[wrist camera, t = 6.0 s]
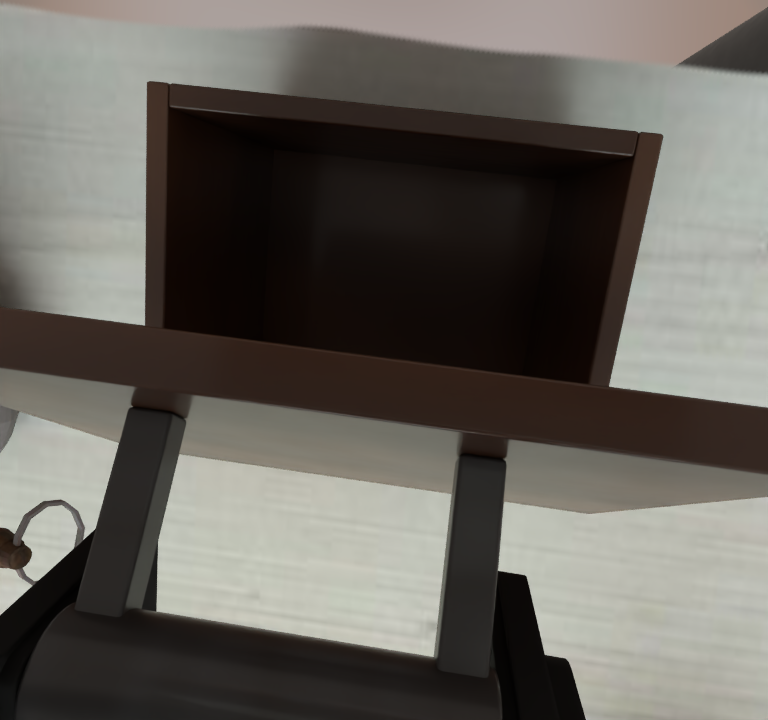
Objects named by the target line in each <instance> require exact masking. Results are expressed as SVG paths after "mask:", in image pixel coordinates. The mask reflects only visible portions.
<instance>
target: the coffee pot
mask: <svg viewBox="0 0 768 720" xmlns="http://www.w3.org/2000/svg"><path fill="white" fill-rule="evenodd" d="M18 413H19V411H17V410H14V409H10V408H7V407H4V406H1V405H0V453H1V451H2V450H3V449H4V447H5V446H6V444H7V442H8V440H9V439H10V437H11V435H12V432H13V429H14V426H15V423H16V419H17V416H18ZM57 505H63V506H64V507H65V508H67V509H68V510H69V511H71V513H72V515H73V517H74V520H75V522H76V524H77V527H78V529H77V535H76V541H75V547H76V546H78V545H79V544H80V543H81V542H82V541H83V536H84V530H85V527H84V524H83V522H82V520H81V517H80V515H79V513H78V511H77V510H76V509H75V508H73V507H72V506H71V505H69V504H68V503H67V502H65V501H63V500H53V501H43V502H42V503H40V504H39V505H38V506H36V507H35V508H33V509H32V510H31V511H29V512H28V513H27V514H25V515H24V517H23V519H22V521H21V523H20V525H19V527H18V529H17V531H16V533H15V534H14V533H12V532H11V531H10V530H8V529H6V528H0V568H10V569H14V570H16V571H17V573H18V575H19V577H20V578H22V579H23V580H25V581H27V582H28V583H30V584H31V585H34V584H35V583H36V582H38V581H35V582H34V581H33V580H32V579H30V578H29V577H27V576H26V574H25V572H24V570H23V567H24V566H26V565H27V563H28V562H29V561H30V559H31V556H32V552H31V549H30V548H28V547H27V546H26V545H25V544H24V541H22V536H23V534H24V532H25V530H26V528H27V526H28V524H29V522H30V520H31V518H33V517H34V516H36V515H37V514H38V513H40V512H41V511H42V510H44V509H45V508H46V507H48V506H57ZM75 547H74V548H75Z"/></svg>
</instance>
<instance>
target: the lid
mask: <svg viewBox="0 0 768 720" xmlns="http://www.w3.org/2000/svg"><path fill="white" fill-rule="evenodd" d="M0 405H1V406H4V407H7V408H10V409H14V410H17V411H20V412H23V413H26V414H29V415H32V416H36V417H39V418H42V419H45V420H48V421H51V422H55V423H58V424H61V425H64V426H67V427H70V428H73V429H77V430H80V431H83V432H86V433H89V434H92V435H95V436H99V437H102V438H105V439H108V440H111V441H114V442H118V443H119V445H118V449H117V453H116V456H115V460H114V464H113V467H112V471H111V475H110V478H109V482H108V486H107V489H106V493H105V497H104V500H103V504H102V508H101V511H100V515H99V519H98V522H97V526H96V530H95V533H94V537H93V541H92V544H91V548H90V552H89V555H88V559H87V563H86V566H85V570H84V574H83V577H82V581H81V585H80V588H79V592H78V596H77V599H76V602H74V603H72V604H70V605H68V606H67V607H66V608H64V609H63V610H62V611H61V612H60V613H59V614H58V615H57V616H56V617H55V618H54V619H53V620H52V621H51V623H50V624H49V625H48V627H47V628H46V629H45V631H44V632H43V634H42V635H41V637H40V639H39V641H38V642H37V644H36V646H35V648H34V650H33V652H32V654H31V656H30V658H29V660H28V662H27V665H26V667H25V670H24V673H23V675H22V678H21V681H20V685H19V688H18V692H17V697H16V702H15V710H14V720H503V706H502V695H501V687H500V682H499V679H498V675H497V672H496V670H495V669H493V668H492V667H490V658H491V646H492V634H493V623H494V611H495V599H496V587H497V575H498V564H499V552H500V540H501V528H502V517H503V505H504V502H510V503H517V504H524V505H531V506H538V507H544V508H551V509H558V510H565V511H572V512H579V513H586V514H593V513H603V512H614V511H624V510H635V509H645V508H656V507H666V506H677V505H687V504H698V503H708V502H719V501H729V500H740V499H750V498H761V497H768V408H766V407H759V406H751V405H743V404H736V403H728V402H721V401H713V400H705V399H698V398H690V397H683V396H675V395H668V394H660V393H652V392H645V391H637V390H630V389H622V388H614V387H607V386H599V385H592V384H584V383H576V382H569V381H561V380H554V379H546V378H538V377H531V376H523V375H516V374H508V373H500V372H493V371H485V370H478V369H470V368H462V367H455V366H447V365H440V364H432V363H424V362H417V361H409V360H402V359H394V358H386V357H379V356H371V355H364V354H356V353H348V352H341V351H333V350H326V349H318V348H310V347H303V346H295V345H288V344H280V343H272V342H265V341H257V340H250V339H242V338H234V337H227V336H219V335H212V334H204V333H196V332H189V331H181V330H174V329H166V328H158V327H151V326H143V325H136V324H128V323H120V322H113V321H105V320H98V319H90V318H82V317H75V316H67V315H60V314H52V313H44V312H37V311H29V310H22V309H14V308H7V307H0ZM179 454H181V455H188V456H195V457H202V458H209V459H215V460H222V461H229V462H236V463H243V464H250V465H257V466H263V467H270V468H277V469H284V470H291V471H298V472H305V473H311V474H318V475H325V476H332V477H339V478H346V479H353V480H359V481H366V482H373V483H380V484H387V485H394V486H401V487H407V488H414V489H421V490H428V491H435V492H442V493H448V494H452V496H451V505H450V514H449V523H448V533H447V542H446V551H445V560H444V569H443V578H442V587H441V596H440V606H439V615H438V624H437V633H436V642H435V651H434V657H430V656H423V655H417V654H411V653H405V652H399V651H393V650H387V649H381V648H375V647H369V646H363V645H357V644H350V643H344V642H338V641H332V640H326V639H320V638H314V637H308V636H302V635H296V634H290V633H284V632H277V631H271V630H265V629H259V628H253V627H247V626H241V625H235V624H229V623H223V622H217V621H211V620H205V619H198V618H192V617H186V616H180V615H174V614H168V613H162V612H156V611H150V610H144V609H142V604H143V600H144V596H145V592H146V588H147V584H148V580H149V576H150V571H151V567H152V563H153V559H154V555H155V551H156V547H157V543H158V539H159V534H160V530H161V526H162V522H163V518H164V514H165V510H166V506H167V501H168V497H169V493H170V489H171V485H172V481H173V477H174V473H175V468H176V464H177V460H178V456H179Z"/></svg>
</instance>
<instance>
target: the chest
mask: <svg viewBox="0 0 768 720" xmlns="http://www.w3.org/2000/svg"><path fill="white" fill-rule="evenodd" d="M662 140H663V135H662V134H656V133H647V132H641V133H638V132H636V131H627V130H617V129H608V128H598V127H588V126H579V125H569V124H559V123H550V122H540V121H530V120H521V119H511V118H501V117H492V116H482V115H472V114H463V113H453V112H443V111H434V110H424V109H414V108H405V107H395V106H385V105H375V104H366V103H356V102H346V101H337V100H327V99H317V98H308V97H298V96H288V95H279V94H269V93H259V92H250V91H240V90H230V89H221V88H211V87H201V86H192V85H182V84H168V83H163V82H153V81H149V82H147V156H146V289H145V326H151V327H158V328H166V329H174V330H181V331H189V332H196V333H204V334H212V335H219V336H227V337H234V338H242V339H250V340H257V341H265V342H272V343H280V344H288V345H295V346H303V347H310V348H318V349H326V350H333V351H341V352H348V353H356V354H364V355H371V356H379V357H386V358H394V359H402V360H409V361H417V362H424V363H432V364H440V365H447V366H455V367H462V368H470V369H478V370H485V371H493V372H500V373H508V374H516V375H523V376H531V377H538V378H546V379H554V380H561V381H569V382H576V383H584V384H592V385H599V386H607V387H609V383H610V379H611V374H612V369H613V365H614V360H615V356H616V351H617V346H618V342H619V337H620V333H621V328H622V324H623V319H624V314H625V310H626V305H627V301H628V296H629V292H630V287H631V282H632V278H633V273H634V269H635V264H636V259H637V255H638V250H639V246H640V241H641V237H642V232H643V227H644V223H645V218H646V214H647V209H648V205H649V200H650V195H651V191H652V186H653V182H654V177H655V172H656V168H657V163H658V159H659V154H660V150H661V145H662Z"/></svg>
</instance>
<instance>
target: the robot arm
mask: <svg viewBox="0 0 768 720" xmlns="http://www.w3.org/2000/svg"><path fill="white" fill-rule="evenodd" d="M95 530H96V529H95ZM95 530H94V531H93V532H92V533H91V534H90V535H89V536H87V537H86V538H85V539H84V540H83V541H82V542H81V543H80V544H79V545H78V546H76V547H75V548H74V549H73V550H72V551H71V552H70V553H69V554H68V555H67V556H65V557H64V558H63V559H62V560H61V561H60V562H59V563H58V564H57V565H56V566H54V567H53V568H52V569H51V570H50V571H49V572H48V573H47V574H46V575H45V576H43V577H42V578H41V579H40V580H39V581H38V582H36V583H35V584H34V585H33V586H32V587H31V588H30V589H29V590H28V591H27V592H25V593H24V594H23V595H22V596H21V597H20V598H19V599H18V600H17V601H16V602H14V603H13V604H12V605H11V606H10V607H9V608H8V609H7V610H6V611H5V612H3V613H2V614H1V615H0V720H14V710H15V702H16V697H17V692H18V688H19V685H20V681H21V678H22V675H23V673H24V670H25V667H26V665H27V662H28V660H29V658H30V656H31V654H32V652H33V650H34V648H35V646H36V644H37V642H38V641H39V639H40V637H41V635H42V634H43V632H44V631H45V629H46V628H47V627H48V625H49V624H50V623H51V621H52V620H53V619H54V618H55V617H56V616H57V615H58V614H59V613H60V612H61V611H62V610H63V609H64V608H66V607H67V606H68V605H70V604H72V603H74V602H76V599H77V596H78V592H79V588H80V585H81V581H82V577H83V574H84V570H85V566H86V563H87V559H88V555H89V552H90V548H91V544H92V541H93V537H94V533H95ZM157 559H158V543H157V547H156V551H155V555H154V559H153V563H152V567H151V571H150V576H149V580H148V584H147V588H146V592H145V596H144V600H143V604H142V609H144V610H150V611H156V602H157ZM490 667H492V668H493V669H495V670H496V672H497V675H498V679H499V682H500V687H501V695H502V706H503V720H586V719H585V715H584V712H583V708H582V705H581V701H580V698H579V694H578V690H577V687H576V683H575V680H574V676H573V673H572V669H571V667H570V664H569V662H568V661H567V660H566V659H565V658H559V657H553V656H547V655H545V654H544V650H543V645H542V641H541V637H540V632H539V628H538V624H537V619H536V615H535V611H534V607H533V602H532V598H531V594H530V589H529V585H528V581H527V577H526V576H525V575H520V574H513V573H507V572H501V571H498V575H497V587H496V599H495V611H494V623H493V634H492V646H491V658H490Z"/></svg>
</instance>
